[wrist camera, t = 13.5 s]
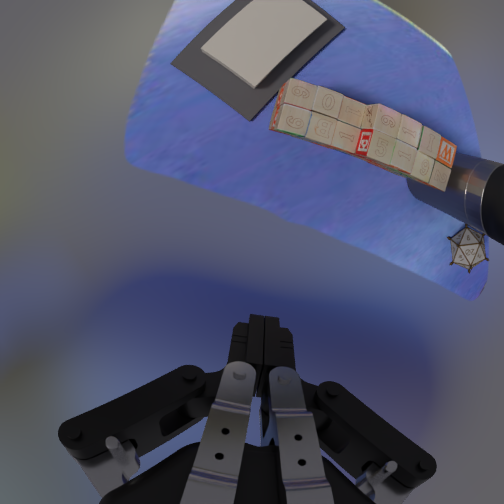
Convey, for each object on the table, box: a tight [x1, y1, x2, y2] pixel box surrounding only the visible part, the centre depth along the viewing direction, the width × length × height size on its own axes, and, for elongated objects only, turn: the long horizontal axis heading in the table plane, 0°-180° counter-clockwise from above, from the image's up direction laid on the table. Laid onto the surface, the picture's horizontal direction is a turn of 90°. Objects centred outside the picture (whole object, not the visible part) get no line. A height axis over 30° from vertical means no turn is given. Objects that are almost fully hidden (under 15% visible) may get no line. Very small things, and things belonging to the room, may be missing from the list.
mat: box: [171, 0, 345, 121], centre depth 30 cm, size 21×14×1 cm, turn 140°
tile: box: [201, 0, 327, 89], centre depth 28 cm, size 2×9×15 cm
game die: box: [447, 224, 489, 273], centre depth 40 cm, size 9×8×10 cm
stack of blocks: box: [269, 78, 457, 192], centre depth 30 cm, size 21×6×12 cm, turn 76°
